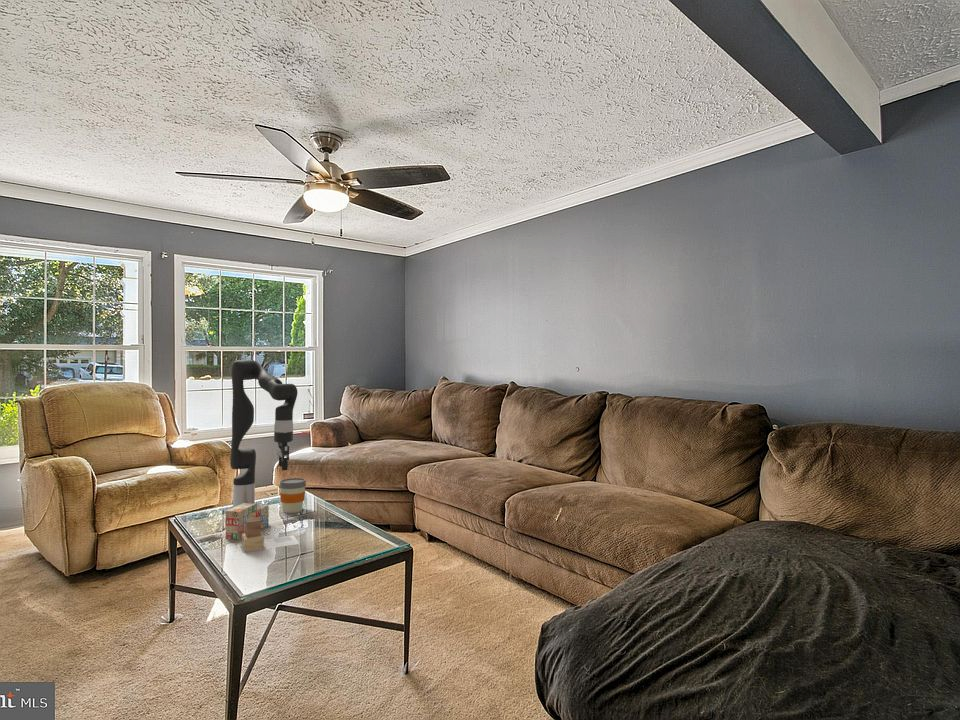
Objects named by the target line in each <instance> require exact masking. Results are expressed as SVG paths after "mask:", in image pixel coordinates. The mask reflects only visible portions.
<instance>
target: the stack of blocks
mask: <svg viewBox="0 0 960 720" xmlns="http://www.w3.org/2000/svg"><path fill="white" fill-rule="evenodd" d="M258 517H259V518H260V520H261V529H264V528H265V527H267V526H269V522H270V521H269V519H270V518H269V517H270V515H269V504H258V503H255V504H254V503H243V504H241V505H238V506H236V507H234V508H233V507H231V508H229V509H227V510H225V540H226V539H227V540H240V539H242V534H245V523H246V519H250V518H258Z"/></svg>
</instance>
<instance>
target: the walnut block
mask: <svg viewBox="0 0 960 720" xmlns="http://www.w3.org/2000/svg"><path fill="white" fill-rule="evenodd" d="M261 532H262V528H261V520H260V518H259V517H258V518H250V519H246V523H245V535H246V537H247V538H250V537H256V536H261Z"/></svg>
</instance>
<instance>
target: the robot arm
mask: <svg viewBox="0 0 960 720" xmlns="http://www.w3.org/2000/svg"><path fill="white" fill-rule="evenodd" d="M251 380H257V381H258V385H259V387H260V388H261V389H263V390H264V391H266V392H267V393H268V394H269V395H270V397H271V399H273V400H274V401H275V400H276V401H280V402H281V401H284V402H283V404H281V405H279V406H277V407H275V412H274V414H275V415H274V417H275V418H274V425H273V426H274V429H273V430H274V432H273V438H274V439H273V441H274V442H275V443H277V457H278V466H279V467H281V470H282V471H288V467H289V466H288V464H289V463H288V461H290V446H289V445H288V443H291V442H293V441H294V422H293V421H294V420H293V419H294V416H293V415H294V414H293V413H294V408H295V405H296V400H297V397H298V388H297V386H296V385H295V384H293V383H283V382H282V380H280V379H279V378H277V377H276V376H274V375H272V374H271V373H269V372H268V371H267V370H266V369H265V368H264V367H263V366H262V365H261V364H260V363H259V362H258V361H256V360H254V359H243V360H242V359H237V360H234V362H232V365H231V384H232V386H231V387H232V410H231V411H232V412H231V430H232V431H231V446H230V459H229V460H230V461H229V462H230V464H229V465H230V468H231V469H232V470H246V471H245V472H244V473H241V474H239V475H237V476H235V477H233V481H232V482H233V483H232V484H233V485H232V493H233V494H232V508H234V507H236V506H238V505H241V504H243V503H254V504H256V503H255V496H256V488H255V487H256V464H257V463H256V461H257V453H256V450H255V448H240V445H241V442H242V440H243V438H244V437H245V435H246V433H247V432H249V430H250V429H251V427H252V426H253V424H254V419H255V408H254V405H253V403H252V401H251V400H250V398H249V397H248V395H247V394H246V392H245V391H246V390H245V388H244V381H251Z"/></svg>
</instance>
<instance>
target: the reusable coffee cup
mask: <svg viewBox="0 0 960 720" xmlns="http://www.w3.org/2000/svg"><path fill="white" fill-rule="evenodd" d="M306 482H307V481H306V479H305V478H301V477H291V478H290V477H289V478H284V479H281V480H280V482H279V488H280V490H279V491H280V492H279V497H280V503H281V505H282V512H283V513H285V514H294V513H299V511H300V512H301V511H302V510H303V503H304V501H305V495H306V490H305V489H306V486H307V483H306Z"/></svg>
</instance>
